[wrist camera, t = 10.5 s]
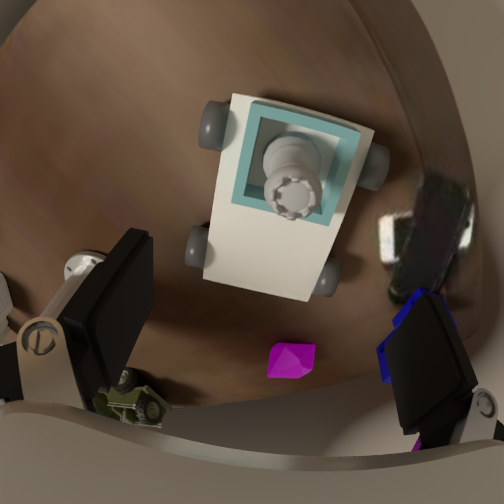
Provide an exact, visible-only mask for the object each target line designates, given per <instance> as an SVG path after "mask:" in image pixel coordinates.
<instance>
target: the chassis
mask: <svg viewBox="0 0 504 504" xmlns="http://www.w3.org/2000/svg"><path fill="white" fill-rule="evenodd" d="M285 132H298V133H302V134H303V135H305V136H307V137H309V138H311V139H312V141H313V142H314V143H315V144H316V145H317V147H318V149H319V153H320V156H321V167H320V172H319V174H318V176H317V177H318V178H319V179H320V182H321V185H322V189H323V193H322V199H321V202H320V204H319V205H318V207H317V208H316V210H315V211H313V212H312V214H310V215H309V216H308V217H306V218H305V219H304V217H301V218H297V219H296V221H292V220H287V218H284V217H282V216H280V215H279V216H278V215H277V214H276V213H274V211H273V210H272V209H271V208H270V207H269V206H268V205H267V202H266V200H265V197H264V185H265V183H266V181H267V179H268V178H267V177H266V175H265V172H264V169H263V167H262V158H263V151H264V149H265V147H266V145H267V143H268V142H269V141H270V140H271V139H272V138H273V137H275V136H276V135H278V134H281V133H285ZM374 132H375V131H374V130H372V129H370V128H367V127H365V126H362V125H359V124H356V123H353V122H350V121H347V120H344V119H341V118H338V117H334V116H331V115H328V114H325V113H321V112H318V111H314V110H311V109H307V108H303V107H299V106H296V105H292V104H288V103H283V102H279V101H275V100H270V99H266V98H261V97H256V96H251V95H246V94H241V93H233V95H232V100H231V104H229V103H223V102H217V101H209V102H208V104H207V105H206V107H205V110H204V112H203V115H202V119H201V123H200V129H199V146H200V148H205V149H211V150H216V151H221V152H222V153H221V159H220V165H219V171H218V177H217V183H216V189H215V195H214V202H213V208H212V215H211V222H210V229H209V228H204V227H200V226H196V225H194V226H193V228H192V230H191V232H190V235H189V238H188V242H187V246H186V251H185V265H188V266H192V267H196V268H200V269H204V273H203V279H207V280H211V281H215V282H219V283H223V284H228V285H232V286H236V287H241V288H245V289H249V290H254V291H258V292H263V293H267V294H272V295H277V296H281V297H286V298H291V299H295V300H300V301H305V302H308V300H309V298H310V296H311V293H312V294H316V295H321V296H325V297H331V296H332V295H333V294H334V292H335V291H336V288H337V286H338V283H339V279H340V272H341V264H340V260H339V259H337V258H333V257H329V256H328V255H329V252H330V250H331V248H332V245H333V243H334V240H335V238H336V235H337V233H338V230H339V228H340V225H341V223H342V220H343V218H344V215H345V213H346V210H347V208H348V205H349V202H350V200H351V197H352V195H353V192H354V189H355V187H356V186H359V187H362V188H365V189H368V190H371V191H377V190H378V189H379V188H380V187H381V186H382V184H383V183H384V181H385V179H386V176H387V173H388V170H389V165H390V152H389V149H388V148H387V147H386V146H383V145H380V144H378V143H375V142H372V138H373V135H374Z"/></svg>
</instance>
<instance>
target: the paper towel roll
mask: <svg viewBox="0 0 504 504" xmlns="http://www.w3.org/2000/svg"><path fill="white" fill-rule="evenodd" d="M7 325H8V320H7V318H5V319H4V321H3V322H2V323H1V325H0V345H1V344H2V342H3V341H4V339H5V338H6V336H7V335H8V334H9V332H10V331H11V330H10V329H9V328H8V327H7Z"/></svg>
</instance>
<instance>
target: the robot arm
mask: <svg viewBox="0 0 504 504" xmlns="http://www.w3.org/2000/svg"><path fill="white" fill-rule="evenodd" d="M64 276H65V283H64V284H63V285H62V286H61V288H60V289H59V290H58V292H57V293H56V294H55V296H54V297H53V298H52V300H51V301H50V302H49V304H48V305H47V306H46V308H45V309H44V310H43V312H42V313H41V315H40V316H39V317H36V318H34V319H31V320H29V321H28V322H27V323H25V324H24V325H23V326H22V328H21V329H20V331H19V333H18V335H17V341H16V342H13V343H10V344H6V345H3V346H0V504H504V425H503V424H502V423H501V422H500V421H499V420H497V415H498V405H497V402H496V400H495V398H494V396H493V395H492V394H491V393H490V392H489V391H488V390H486V389H483V388H480V389H477V390H476V391H475V392H474V393H473V392H472V389H473V388H474V387H475V386H476V385H478V381H477V378H476V375H475V373H474V370H473V368H472V366H471V363H470V360H469V358H468V356H467V353H466V351H465V348H464V346H463V344H462V341H461V339H460V337H459V335H458V332H457V330H456V328H455V326H454V324H453V322H452V320H451V318H450V316H449V313H448V311H447V309H446V307H445V305H444V304H443V302H442V300H441V298H440V296H438V295H435V294H430V293H425V294H423V295H422V296H420V297H419V298H418V299H417V301H416V302H415V304H414V305H413V307H412V308H411V309H410V311H409V312H408V314H407V315H406V317H405V318H404V319H403V321H402V322H401V324H400V325H399V326H398V328H397V329H396V331H395V332H394V333H393V335H392V336H391V337H390V339H389V340H388V341H387V343H386V345H385V348H384V352H385V356H386V360H387V364H388V369H389V373H390V377H391V382H392V386H393V391H394V396H395V401H396V406H397V412H398V417H399V422H400V426H401V427H402V428H403V433H404V435H411V434H416V433H417V432H419V433H420V436H419V438H418V440H417V441H416V443H415V445H414V447H413V449H412V451H411V452H404V453H396V454H386V455H372V456H353V457H352V456H351V457H315V456H314V457H311V456H293V455H279V454H269V453H259V452H251V451H243V450H237V449H230V448H224V447H219V446H213V445H208V444H203V443H198V442H194V441H189V440H185V439H181V438H177V437H173V436H168V435H165V434H161V433H157V432H154V431H150V430H147V429H143V428H139V427H136V426H133V425H130V424H127V423H124V422H121V421H118V420H115V419H112V418H108V417H105V416H102V415H99V413H98V410H97V407H96V405H95V402H94V399H93V398H95V397H96V395H97V393H98V390H100V391H102V392H105V393H109V391H110V388H111V386H113V387H116V386H117V384H118V382H119V380H120V378H121V375H122V373H123V370H124V368H125V366H126V363H127V361H128V359H129V356H130V354H131V352H132V350H133V347H134V345H135V343H136V341H137V338H138V336H139V334H140V332H141V330H142V327H143V325H144V323H145V321H146V319H147V317H148V314H149V312H150V310H151V308H152V305H153V300H154V290H153V237H150V236H149V234H148V232H147V231H144V230H140V229H136V228H130V229H129V230H128V231H127V232H126V233H125V234H124V236H123V237H122V238H121V239H120V240H119V242H118V243H117V244H116V245H115V247H114V248H113V249H112V250H111V252H110V253H109V254H108V255H107V257H106V256H105V255H102V254H99V253H96V252H91V251H81V252H78V253H76V254H74V255H73V256H72V257H71V258H70V259H69V260H68V261H67V263H66V265H65V270H64Z"/></svg>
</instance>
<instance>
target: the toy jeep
mask: <svg viewBox="0 0 504 504" xmlns="http://www.w3.org/2000/svg"><path fill="white" fill-rule="evenodd" d="M137 378H138V376H137V374H136V372H135V371H134V370H133V369H131V368H130V367H128V368H127V367H125V368H124V370H123V373H122V375H121V378H120V380H119V382H118V384H117V386H116V387H113V386H111V388H110V391H109V393H105V392H102V391H100V390H98V393H97V395H96V397H95V398H93V399H94V402H95V405H96V407H97V410H98V413H99V415H102V416H105V417H108V418H112V419H115V420H118V421H120V416H121V418H122V415H123V414H122V413H123V411H125V420H127V421H128V422H129V423H131V424H132V425H134V426H135V424H136V425H143V426H153V427H160V428H161V426H160V425H162V423H161V422H162V418H163V415H164V413H166V410H168V411H169V412H171V411H172V408H173V407H172V406H171V405H170V404H168V402H167V400H166V399H165V398H164V397H163V396H161V395H159V394H156V393H155V392H154V391H153V390H152V389H151V388H150V387H148V386H147V385H145V387H135V385H137V381H138V379H137ZM143 391H145V392H146V393H147V394H148V395H149V396H148V395H147V394H146V393H144V392H143ZM121 421H122V420H121ZM135 422H139V423H143V424H137V423H135ZM155 425H157V426H155Z"/></svg>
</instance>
